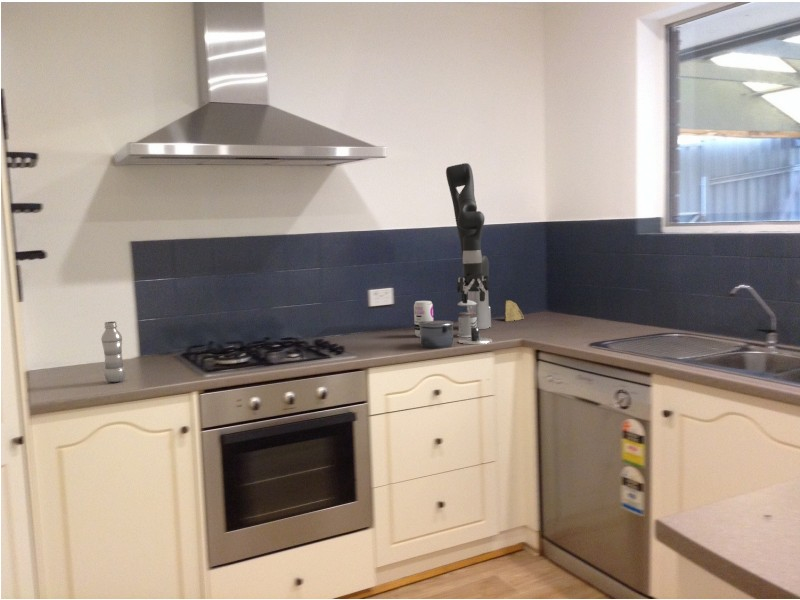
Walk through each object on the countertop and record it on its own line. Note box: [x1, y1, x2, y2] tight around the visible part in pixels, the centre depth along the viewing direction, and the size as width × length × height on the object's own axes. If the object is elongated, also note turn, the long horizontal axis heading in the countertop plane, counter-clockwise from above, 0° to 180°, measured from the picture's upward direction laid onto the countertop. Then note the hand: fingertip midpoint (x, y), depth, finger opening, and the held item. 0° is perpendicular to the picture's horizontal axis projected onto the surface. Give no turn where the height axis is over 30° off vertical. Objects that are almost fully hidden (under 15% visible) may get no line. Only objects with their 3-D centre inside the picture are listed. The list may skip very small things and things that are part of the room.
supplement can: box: [413, 300, 434, 338], centre depth 292 cm, size 8×8×15 cm
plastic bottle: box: [101, 321, 126, 383], centre depth 223 cm, size 6×7×20 cm
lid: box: [457, 327, 493, 345], centre depth 271 cm, size 14×14×6 cm
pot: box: [419, 320, 454, 349], centre depth 266 cm, size 14×17×9 cm
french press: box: [456, 292, 477, 338], centre depth 287 cm, size 10×12×25 cm
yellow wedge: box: [504, 299, 525, 322], centre depth 329 cm, size 11×9×10 cm
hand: (473, 302), depth 270 cm, fingers open, 8 cm apart
